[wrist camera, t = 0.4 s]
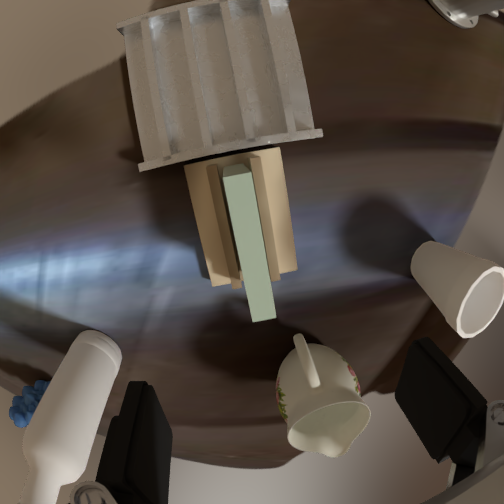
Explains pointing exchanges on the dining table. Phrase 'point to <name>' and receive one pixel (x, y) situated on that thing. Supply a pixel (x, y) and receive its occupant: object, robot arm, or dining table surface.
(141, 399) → the robot arm
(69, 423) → the bottle
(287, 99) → the rack
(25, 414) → the grapes
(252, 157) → the stand
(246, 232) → the sage green plank
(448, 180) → the dining table surface
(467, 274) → the foam cup
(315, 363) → the pitcher
